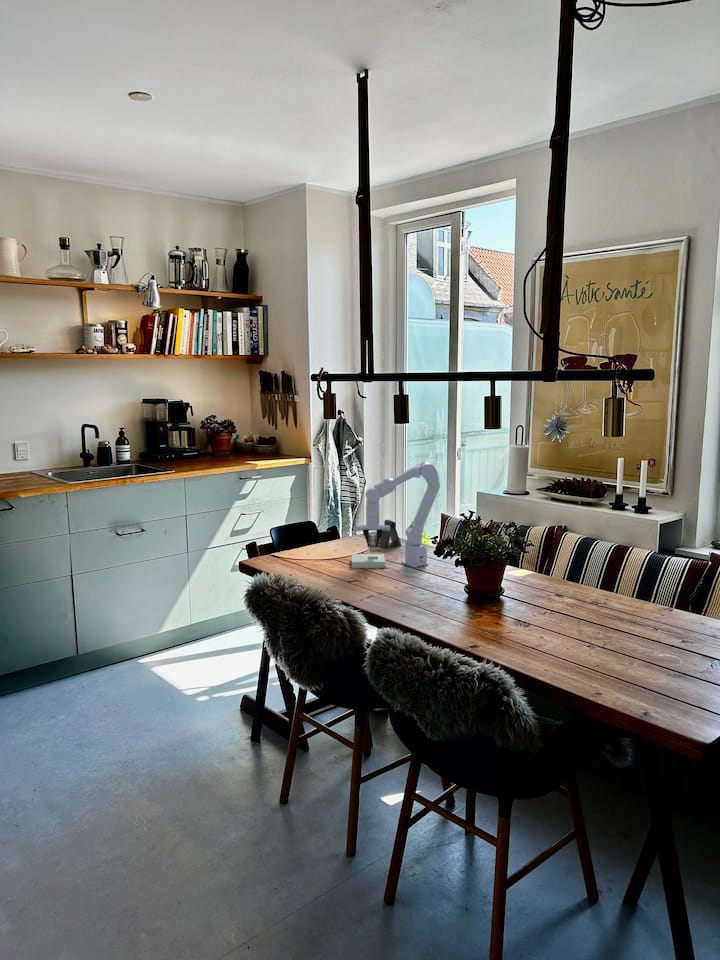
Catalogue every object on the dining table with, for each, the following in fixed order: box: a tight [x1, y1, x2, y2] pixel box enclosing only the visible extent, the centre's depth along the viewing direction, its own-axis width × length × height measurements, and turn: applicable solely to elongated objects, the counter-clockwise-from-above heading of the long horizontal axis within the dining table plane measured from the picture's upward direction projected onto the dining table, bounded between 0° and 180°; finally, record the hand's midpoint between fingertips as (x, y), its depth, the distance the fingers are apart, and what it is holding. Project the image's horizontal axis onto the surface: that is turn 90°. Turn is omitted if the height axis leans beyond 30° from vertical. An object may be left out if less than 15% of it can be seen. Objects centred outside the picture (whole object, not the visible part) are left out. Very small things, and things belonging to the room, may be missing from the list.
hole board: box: [351, 553, 386, 569], centre depth 300 cm, size 14×12×2 cm
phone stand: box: [378, 519, 402, 549], centre depth 329 cm, size 9×6×12 cm, turn 116°
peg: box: [369, 534, 377, 553], centre depth 299 cm, size 3×3×7 cm
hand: (372, 547), depth 299 cm, fingers closed on peg, 3 cm apart
